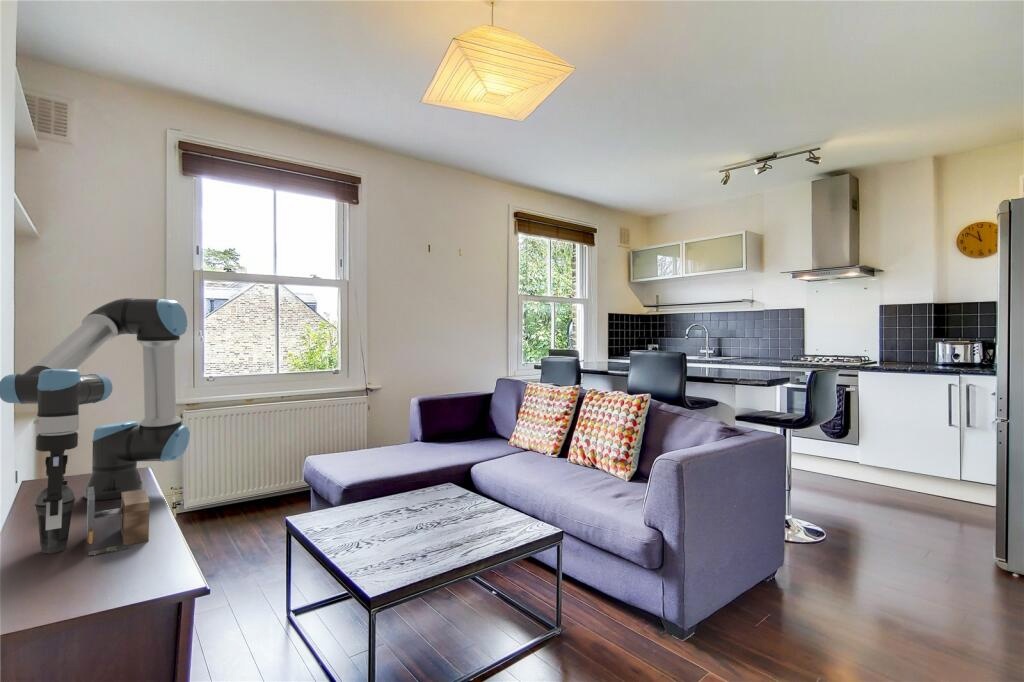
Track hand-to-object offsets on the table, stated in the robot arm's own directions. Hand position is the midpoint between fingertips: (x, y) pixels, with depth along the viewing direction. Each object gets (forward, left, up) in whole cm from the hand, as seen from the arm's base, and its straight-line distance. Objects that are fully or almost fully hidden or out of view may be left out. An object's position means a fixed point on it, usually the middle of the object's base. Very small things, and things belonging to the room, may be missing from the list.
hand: (54, 520), depth 122 cm
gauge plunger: (-9, +7, -4) cm, 12 cm away
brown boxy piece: (-9, +8, -7) cm, 14 cm away
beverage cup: (0, 0, -7) cm, 7 cm away
